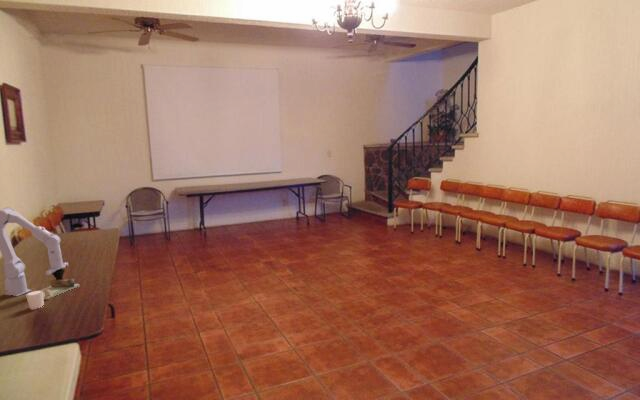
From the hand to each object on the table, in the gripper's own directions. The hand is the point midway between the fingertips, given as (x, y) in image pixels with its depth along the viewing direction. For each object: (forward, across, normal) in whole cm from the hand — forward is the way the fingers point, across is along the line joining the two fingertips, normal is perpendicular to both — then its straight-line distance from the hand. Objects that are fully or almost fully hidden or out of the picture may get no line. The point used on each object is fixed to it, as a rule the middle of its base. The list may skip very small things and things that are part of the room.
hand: (59, 283), depth 232 cm
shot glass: (+2, -25, -6) cm, 26 cm away
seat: (+2, -6, -1) cm, 6 cm away
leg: (+1, -2, -3) cm, 4 cm away
